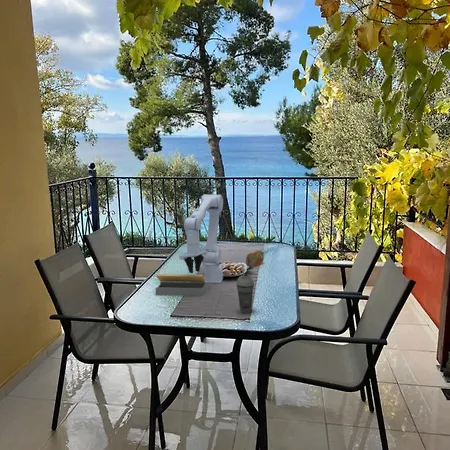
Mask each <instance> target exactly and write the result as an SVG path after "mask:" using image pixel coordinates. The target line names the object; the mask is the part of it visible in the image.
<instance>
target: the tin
mask: <svg viewBox="0 0 450 450" xmlns="http://www.w3.org/2000/svg"><path fill="white" fill-rule="evenodd" d="M264 258H265V255H264V253H263V251H262V250H255V251H252V252H249V253H248V254H247V255H246V257H245V263H246V267H248V266H249V267H251V269H255V268H256V267H259V266H261V265H263V262H264ZM249 267H248V268H249ZM254 267H255V268H254Z"/></svg>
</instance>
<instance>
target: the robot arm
mask: <svg viewBox="0 0 450 450" xmlns="http://www.w3.org/2000/svg"><path fill="white" fill-rule="evenodd" d="M223 197H224V196H222V194H205V193H204V194H203V195H202V196H201V198H200V199H201V200H200V202H201V203H200V205H199V207H198V208H195V209H194V210H193V212H192V214H190V216H188V217H187V218H185V219H184V221H183V228H184V231H185V232H184V233H185V234H186V250H187V251H186V252H185V253H182V254H179V256H178V257H179V260H180V261H184V263H185V265H186V266H187V269H188V274H189V273H190V274H193V273H194V270H195V272H198V273H199V272H200V271H201V270H200V269H201V266H202V265H203V272H204V273H203V274H204V275H203V277H204V279H205V284H209V283H211V284H221V283H222V282H223V279H224V273H223V269H224V267H223V263H221V262H222V249H221V247H219V246H218V245H217V244H218V243H217V241H218V233H219V232H218V230H219V219H220V213H222V212H223V206H224V198H223ZM206 212H208V214H209V216H208V217H209V218H208V227H207V238H206V243H205V245H204V246H202V247H201V246H200V229H201V228H202V223H203V221H204V219H205V217H206ZM200 247H201V249H200Z"/></svg>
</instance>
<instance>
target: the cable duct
mask: <svg viewBox="0 0 450 450" xmlns="http://www.w3.org/2000/svg"><path fill="white" fill-rule="evenodd" d="M159 283H160V284H159V285H158V286H156V287H155V295H156V296H194V297H195V296H197V297H203V296H204V293H205V291H206V283H205V282H160V281H159Z"/></svg>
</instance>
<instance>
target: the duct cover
mask: <svg viewBox="0 0 450 450" xmlns="http://www.w3.org/2000/svg"><path fill="white" fill-rule="evenodd" d="M155 277H156V278H157V279H158V280H159V283H160V282H205V279H204V275H203V274H179V273H178V274H177V273H175V274H169V273H168V274H167V273H165V274H164V273H163V274H160V273H159V274H158V273H157V274H155Z"/></svg>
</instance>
